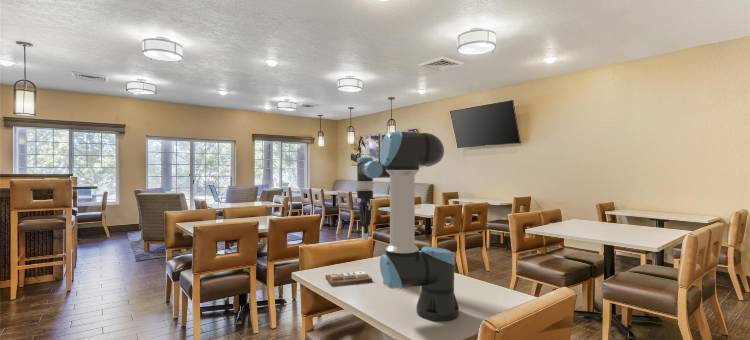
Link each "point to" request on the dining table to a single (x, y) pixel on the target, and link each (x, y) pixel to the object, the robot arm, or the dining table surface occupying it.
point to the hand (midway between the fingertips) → (365, 239)
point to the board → (348, 280)
